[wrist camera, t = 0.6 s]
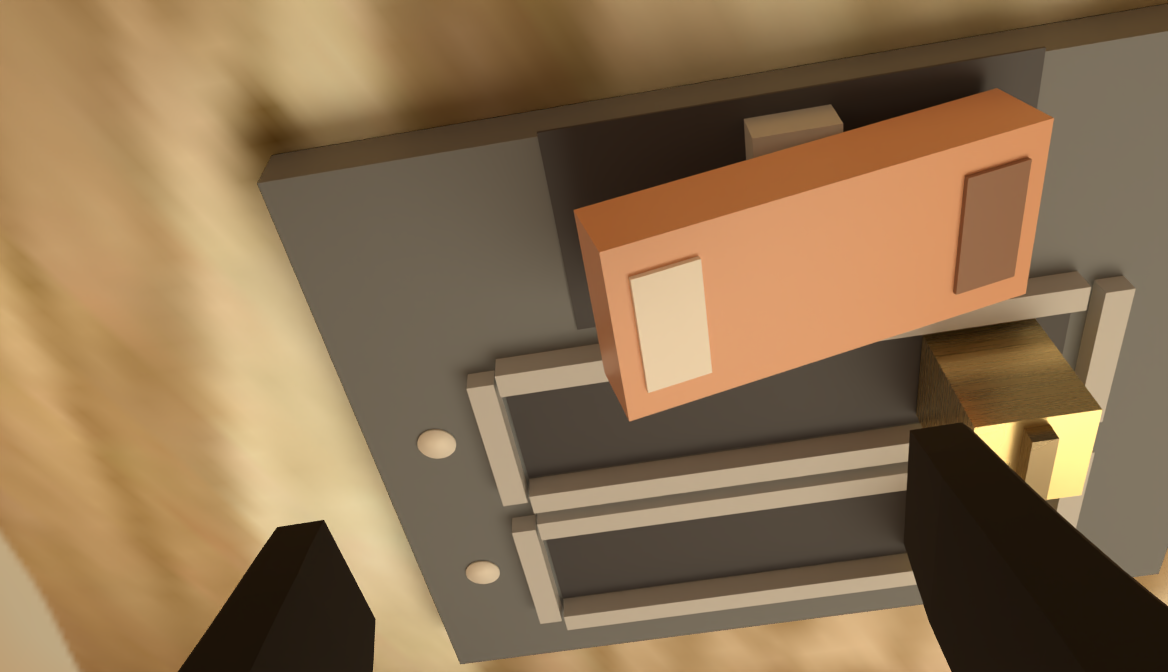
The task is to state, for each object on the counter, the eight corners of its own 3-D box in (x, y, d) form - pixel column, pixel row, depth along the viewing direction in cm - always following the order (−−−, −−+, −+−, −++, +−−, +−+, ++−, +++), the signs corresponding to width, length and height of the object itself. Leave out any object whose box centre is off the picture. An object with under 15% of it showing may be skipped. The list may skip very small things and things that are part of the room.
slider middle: (1020, 399, 21) (1090, 510, 18) (915, 414, 21) (971, 525, 19) (1034, 317, 20) (1113, 424, 17) (922, 334, 20) (982, 441, 17)
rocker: (977, 255, 19) (1029, 296, 17) (604, 373, 17) (631, 424, 16) (997, 87, 16) (1058, 120, 15) (573, 209, 15) (600, 255, 14)
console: (1135, 540, 26) (1176, 600, 25) (463, 629, 28) (458, 691, 26) (1314, -27, 17) (1399, 9, 15) (270, 150, 18) (242, 202, 16)
